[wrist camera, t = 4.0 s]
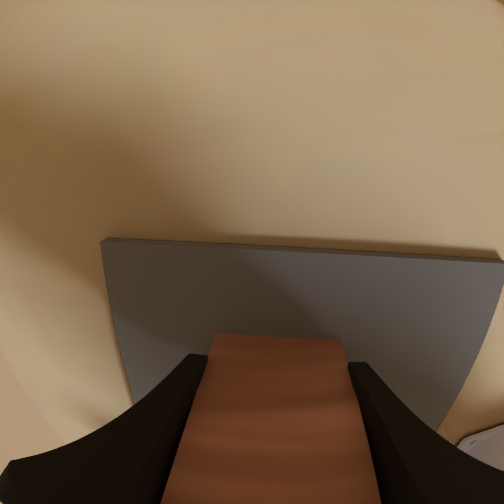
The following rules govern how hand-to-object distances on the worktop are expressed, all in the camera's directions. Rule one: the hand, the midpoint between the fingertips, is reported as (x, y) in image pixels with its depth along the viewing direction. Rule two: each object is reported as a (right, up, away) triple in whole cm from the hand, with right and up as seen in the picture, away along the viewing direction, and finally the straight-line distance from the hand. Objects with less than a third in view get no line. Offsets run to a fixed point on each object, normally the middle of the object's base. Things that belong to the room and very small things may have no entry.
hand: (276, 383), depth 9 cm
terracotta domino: (0, +1, +1) cm, 2 cm away
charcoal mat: (+1, -12, +6) cm, 13 cm away
